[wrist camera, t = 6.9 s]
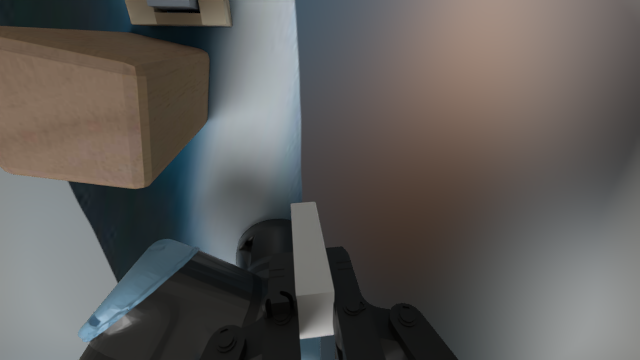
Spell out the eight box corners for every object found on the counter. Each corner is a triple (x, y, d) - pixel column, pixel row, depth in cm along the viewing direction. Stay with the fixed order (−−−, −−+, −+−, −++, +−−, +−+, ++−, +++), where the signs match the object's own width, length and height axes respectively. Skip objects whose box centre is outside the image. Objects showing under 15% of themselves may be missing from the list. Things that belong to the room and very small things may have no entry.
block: (125, 30, 32) (-63, 19, 15) (211, 50, 34) (138, 61, 17) (132, 111, 37) (-7, 177, 19) (208, 125, 39) (147, 195, 21)
